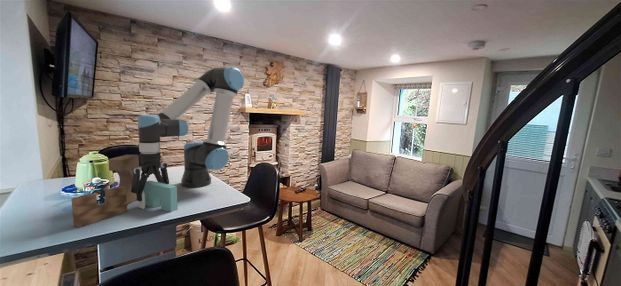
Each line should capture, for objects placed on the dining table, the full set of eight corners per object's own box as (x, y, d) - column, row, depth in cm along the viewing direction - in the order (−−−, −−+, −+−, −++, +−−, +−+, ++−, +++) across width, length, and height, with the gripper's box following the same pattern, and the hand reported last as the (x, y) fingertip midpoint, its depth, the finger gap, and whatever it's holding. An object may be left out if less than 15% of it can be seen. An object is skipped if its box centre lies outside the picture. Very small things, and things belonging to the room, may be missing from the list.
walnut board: (122, 209, 103) (121, 186, 102) (127, 211, 102) (126, 187, 101) (73, 226, 89) (71, 198, 87) (78, 227, 88) (76, 199, 86)
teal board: (144, 204, 109) (143, 182, 108) (150, 202, 112) (149, 180, 111) (171, 212, 104) (170, 188, 102) (177, 209, 106) (176, 186, 105)
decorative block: (123, 207, 106) (121, 159, 104) (109, 206, 106) (107, 159, 104) (141, 197, 117) (139, 154, 114) (129, 197, 117) (126, 154, 115)
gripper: (166, 148, 118) (167, 195, 121) (117, 154, 98) (120, 211, 101) (178, 149, 115) (179, 198, 118) (130, 157, 96) (133, 215, 99)
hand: (152, 204), depth 110 cm, fingers open, 8 cm apart
